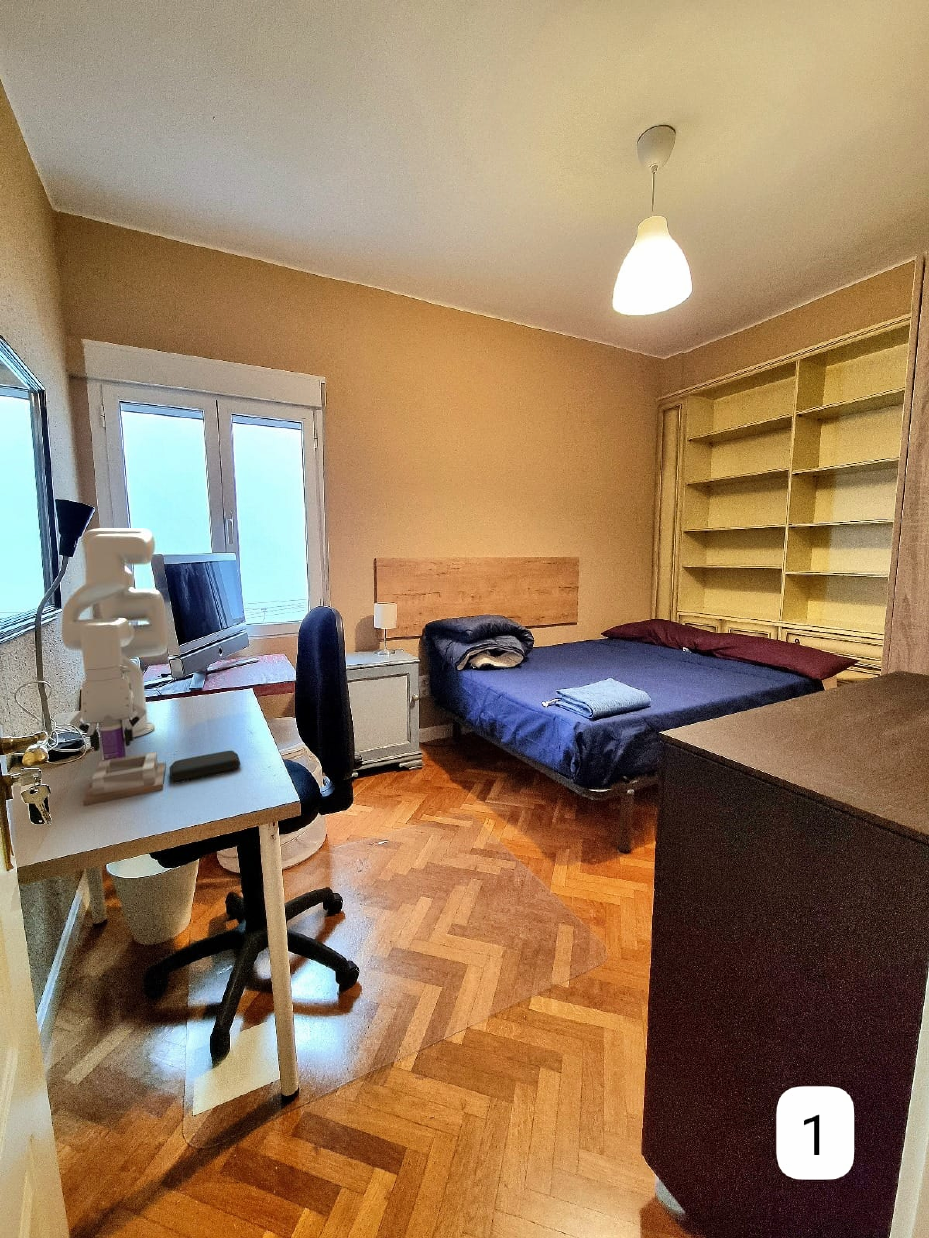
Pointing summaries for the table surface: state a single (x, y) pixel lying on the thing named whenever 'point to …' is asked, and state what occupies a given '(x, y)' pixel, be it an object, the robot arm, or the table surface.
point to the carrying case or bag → (204, 766)
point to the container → (111, 738)
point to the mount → (126, 778)
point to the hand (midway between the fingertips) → (112, 746)
